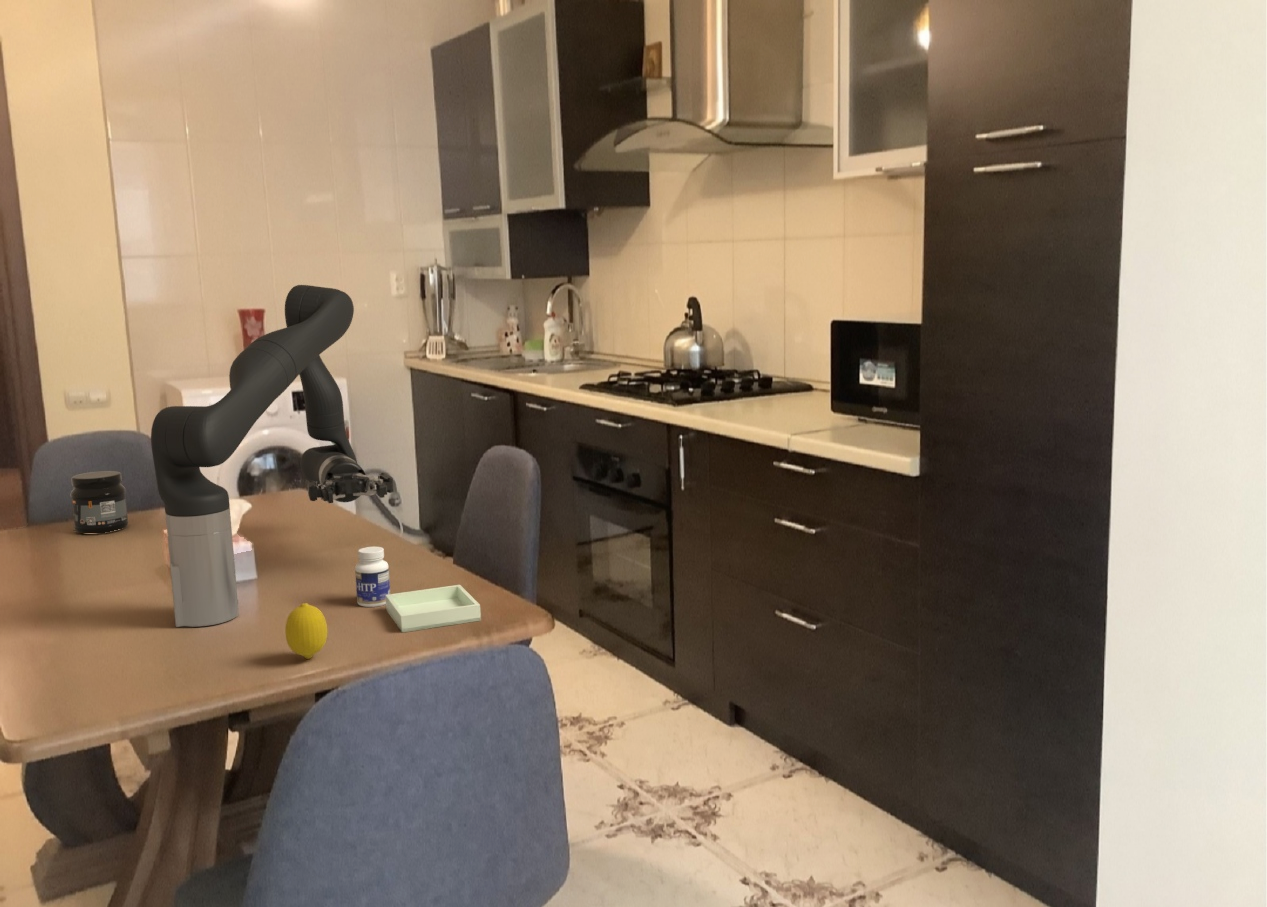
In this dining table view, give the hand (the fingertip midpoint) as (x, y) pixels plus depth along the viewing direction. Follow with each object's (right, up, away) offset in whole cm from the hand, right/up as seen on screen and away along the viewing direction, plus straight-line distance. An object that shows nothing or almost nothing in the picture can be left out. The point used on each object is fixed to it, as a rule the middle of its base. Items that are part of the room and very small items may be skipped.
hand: (356, 494), depth 180 cm
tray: (+16, -18, -15) cm, 28 cm away
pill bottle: (+5, -17, -7) cm, 20 cm away
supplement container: (-67, -10, +48) cm, 83 cm away
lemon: (+2, -22, -32) cm, 39 cm away
